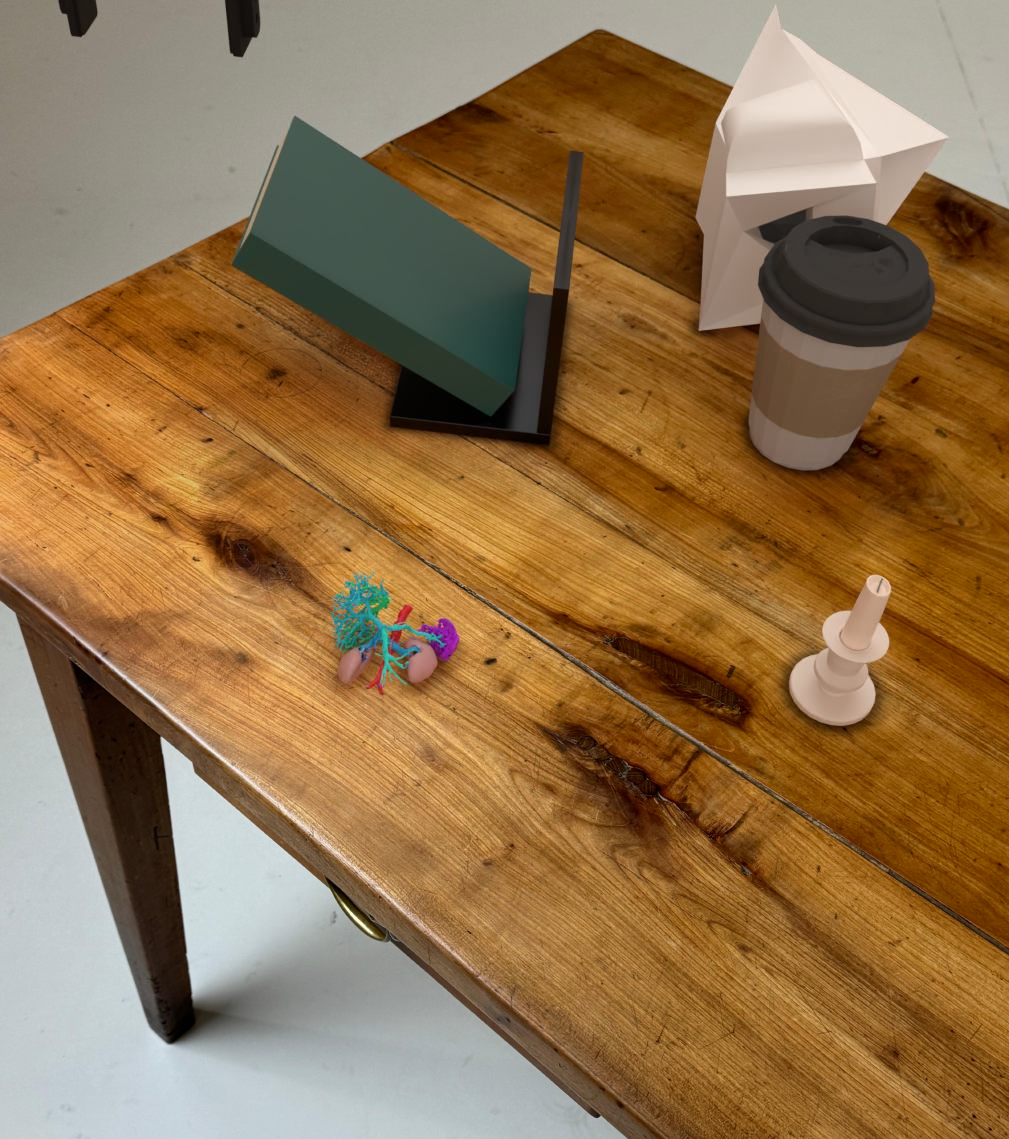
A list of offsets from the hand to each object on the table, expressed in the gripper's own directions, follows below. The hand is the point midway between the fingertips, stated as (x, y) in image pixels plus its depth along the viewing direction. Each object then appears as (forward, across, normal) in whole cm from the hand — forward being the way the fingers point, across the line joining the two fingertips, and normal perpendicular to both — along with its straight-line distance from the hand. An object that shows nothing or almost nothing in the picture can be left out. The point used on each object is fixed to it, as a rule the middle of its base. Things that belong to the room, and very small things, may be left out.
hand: (163, 36), depth 78 cm
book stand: (+22, -21, 0) cm, 30 cm away
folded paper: (+22, -43, -19) cm, 52 cm away
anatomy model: (+22, -18, +29) cm, 41 cm away
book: (+16, -13, 0) cm, 20 cm away
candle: (+22, -45, +26) cm, 57 cm away
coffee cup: (+22, -44, +3) cm, 49 cm away
